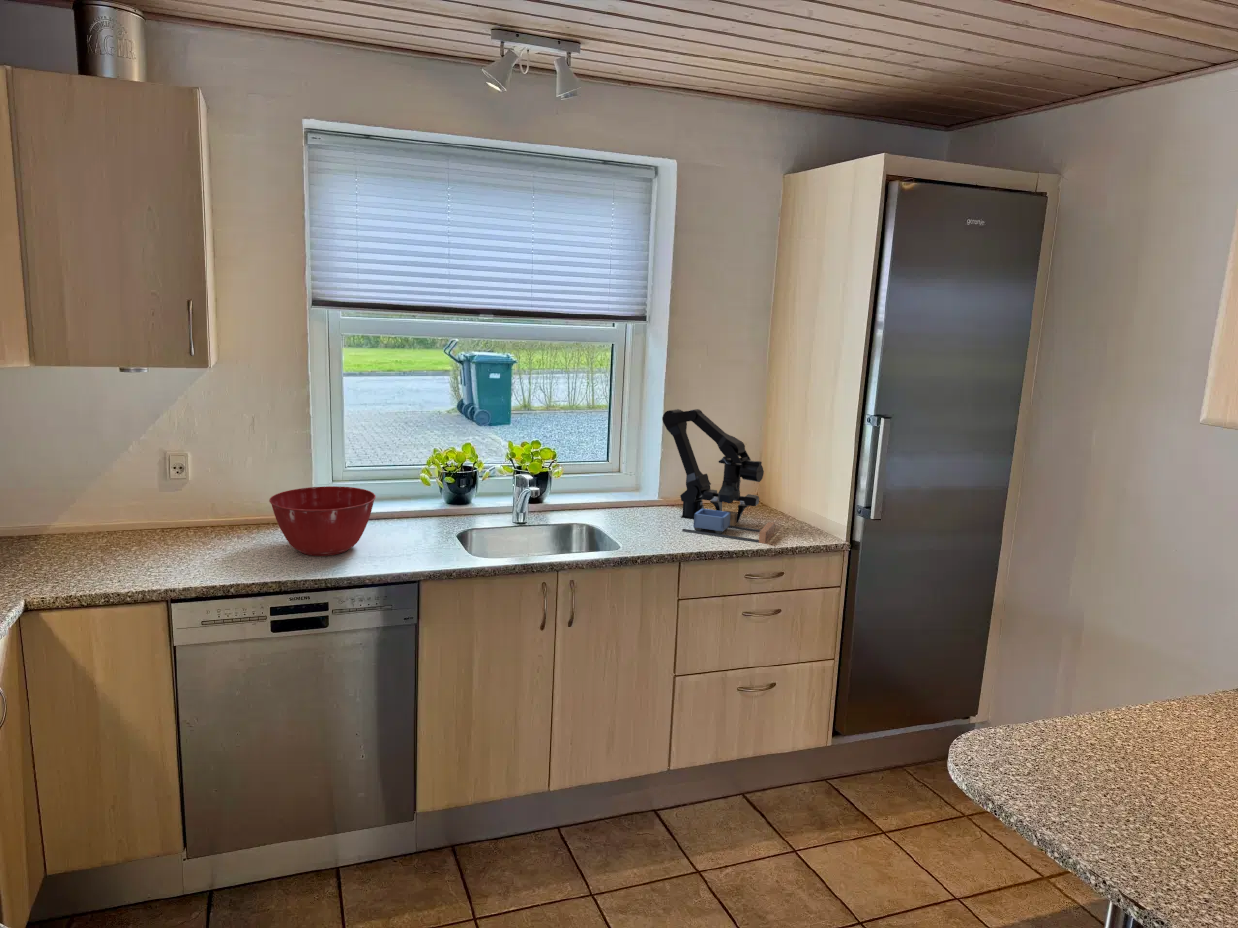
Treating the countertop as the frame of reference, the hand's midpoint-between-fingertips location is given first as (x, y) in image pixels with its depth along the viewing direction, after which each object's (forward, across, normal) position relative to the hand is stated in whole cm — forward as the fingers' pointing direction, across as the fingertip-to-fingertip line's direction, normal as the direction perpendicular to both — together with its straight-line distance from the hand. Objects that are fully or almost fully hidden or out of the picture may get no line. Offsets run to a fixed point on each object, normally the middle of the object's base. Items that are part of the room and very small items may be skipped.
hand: (728, 522), depth 298 cm
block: (+1, 0, 0) cm, 1 cm away
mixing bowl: (+1, -95, -91) cm, 132 cm away
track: (+1, +2, -11) cm, 11 cm away
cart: (+1, -3, -11) cm, 11 cm away
